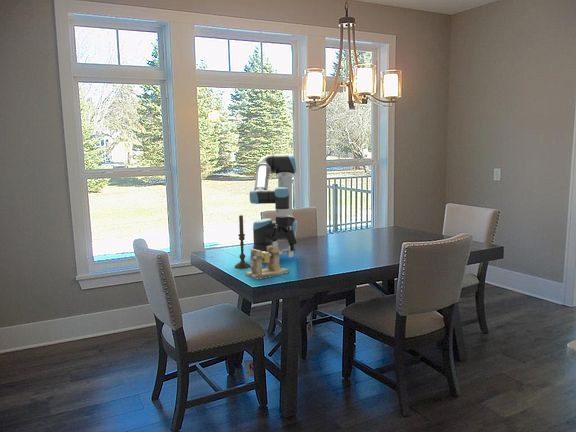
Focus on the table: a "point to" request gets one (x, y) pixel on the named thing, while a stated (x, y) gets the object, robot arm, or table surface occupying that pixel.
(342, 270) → the table surface
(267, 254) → the spacer
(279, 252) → the shaft
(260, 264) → the shaft stand
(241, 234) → the candlestick holder
